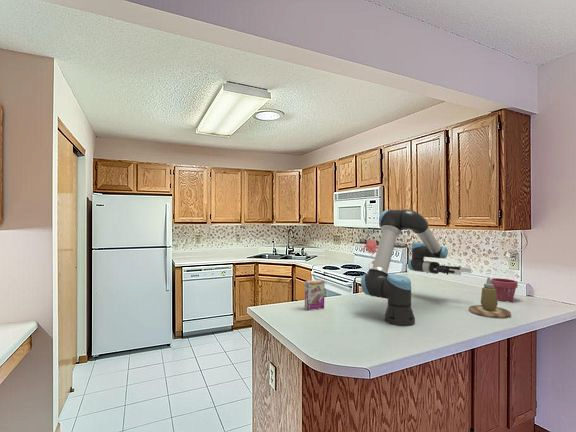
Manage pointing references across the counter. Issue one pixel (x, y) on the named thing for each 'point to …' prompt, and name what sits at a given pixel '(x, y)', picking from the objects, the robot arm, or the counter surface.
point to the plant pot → (504, 288)
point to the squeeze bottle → (489, 296)
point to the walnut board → (489, 312)
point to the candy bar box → (314, 294)
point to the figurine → (370, 247)
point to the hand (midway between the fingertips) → (466, 271)
